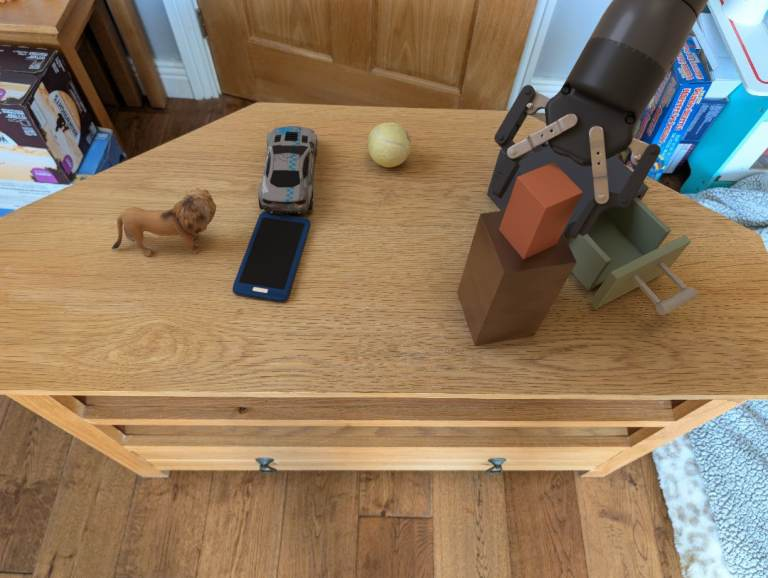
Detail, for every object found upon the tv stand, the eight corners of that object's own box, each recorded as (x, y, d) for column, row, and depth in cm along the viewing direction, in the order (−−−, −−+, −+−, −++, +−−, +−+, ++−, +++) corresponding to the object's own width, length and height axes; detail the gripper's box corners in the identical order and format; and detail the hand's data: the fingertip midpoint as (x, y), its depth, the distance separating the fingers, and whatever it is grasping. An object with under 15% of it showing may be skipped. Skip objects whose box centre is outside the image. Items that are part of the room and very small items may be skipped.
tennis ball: (409, 178, 84) (413, 144, 79) (365, 176, 84) (366, 142, 79) (408, 148, 88) (412, 114, 82) (366, 146, 88) (367, 112, 82)
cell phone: (231, 294, 72) (230, 291, 71) (261, 213, 79) (260, 209, 79) (287, 304, 71) (286, 300, 71) (312, 221, 79) (311, 217, 78)
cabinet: (622, 230, 81) (649, 187, 73) (547, 265, 77) (568, 224, 69) (558, 164, 87) (577, 119, 80) (486, 194, 83) (499, 149, 76)
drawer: (697, 305, 73) (727, 275, 67) (625, 345, 69) (651, 317, 64) (599, 205, 82) (618, 170, 76) (531, 235, 78) (546, 201, 72)
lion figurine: (223, 220, 78) (210, 175, 71) (226, 250, 76) (212, 206, 68) (113, 236, 76) (87, 191, 68) (112, 267, 73) (85, 224, 66)
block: (556, 244, 58) (583, 192, 52) (523, 260, 57) (546, 208, 50) (531, 215, 60) (553, 161, 54) (498, 229, 59) (517, 176, 52)
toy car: (318, 139, 88) (317, 113, 84) (313, 221, 79) (310, 197, 74) (271, 138, 88) (267, 112, 84) (259, 220, 78) (254, 195, 74)
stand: (513, 283, 75) (549, 204, 61) (534, 335, 71) (577, 262, 57) (456, 292, 74) (480, 213, 60) (474, 345, 70) (503, 273, 56)
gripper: (552, 9, 48) (461, 179, 53) (712, 76, 44) (599, 254, 49) (560, 37, 55) (479, 185, 60) (699, 97, 51) (601, 252, 56)
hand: (533, 216), depth 54 cm, fingers open, 8 cm apart
